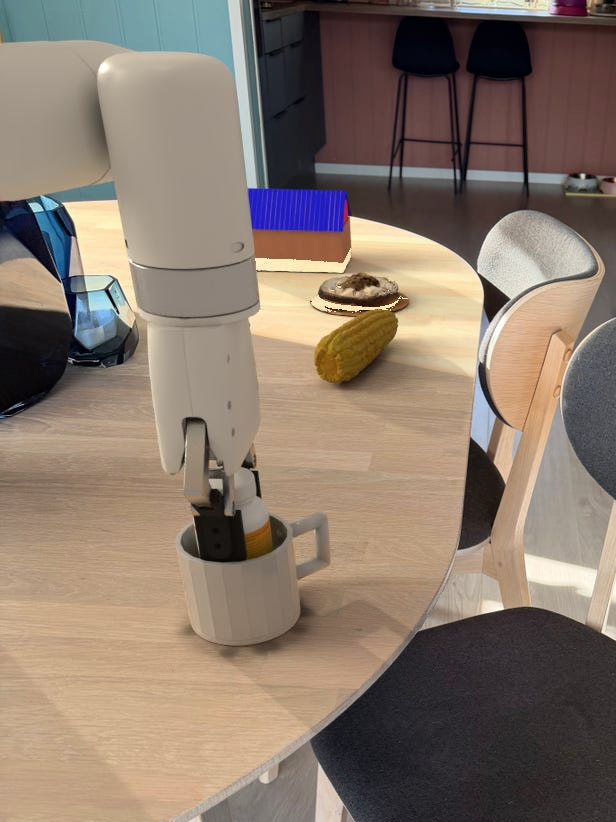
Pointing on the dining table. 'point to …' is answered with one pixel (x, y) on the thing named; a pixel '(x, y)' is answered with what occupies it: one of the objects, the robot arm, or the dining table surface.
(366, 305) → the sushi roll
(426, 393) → the dining table surface
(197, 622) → the coffee mug
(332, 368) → the food
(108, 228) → the dining table surface
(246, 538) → the supplement bottle
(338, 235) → the house
